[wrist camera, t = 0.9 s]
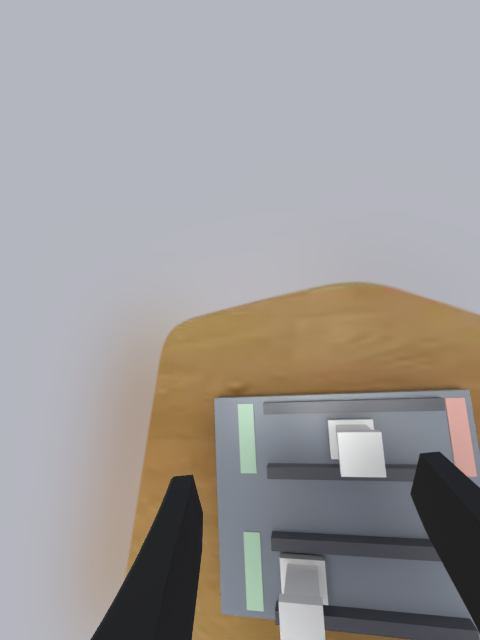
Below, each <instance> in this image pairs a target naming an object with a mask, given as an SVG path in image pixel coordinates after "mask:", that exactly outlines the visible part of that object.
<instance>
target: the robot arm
mask: <svg viewBox="0 0 480 640" xmlns="http://www.w3.org/2000/svg"><path fill="white" fill-rule="evenodd" d="M410 495H411V497H412V500H413V502H414V505H415V507H416V510H417V512H418V515H419V517H420V519H421V522H422V524H423V526H424V529H425V531H426V533H427V535H428V537H429V539H430V541H431V542H432V544H433V546H434V548H435V550H436V552H437V554H438V556H439V558H440V559H441V561H442V563H443V565H444V567H445V569H446V571H447V572H448V574H449V576H450V578H451V580H452V582H453V584H454V586H455V587H456V589H457V591H458V593H459V595H460V597H461V599H462V600H463V602H464V604H465V606H466V608H467V610H468V612H469V613H470V615H471V617H472V619H473V621H474V623H475V625H476V627H477V629H478V631H479V633H480V487H479V486H477V485H476V484H475V483H474V482H473V481H472V480H471V479H470V478H468V477H467V476H466V475H465V474H464V473H463V472H462V471H461V470H460V469H459V468H457V467H456V466H455V465H454V464H453V463H452V462H451V461H450V460H449V459H447V458H446V457H445V456H444V455H443V454H442V453H441V452H429V453H420V455H419V459H418V463H417V467H416V472H415V476H414V480H413V485H412V489H411V493H410ZM202 534H203V511H202V508H201V504H200V500H199V496H198V493H197V489H196V485H195V481H194V478H193V475H186V476H175V477H173V478H172V479H171V481H170V484H169V487H168V489H167V492H166V494H165V497H164V499H163V502H162V504H161V506H160V509H159V511H158V513H157V516H156V518H155V520H154V522H153V525H152V527H151V529H150V531H149V533H148V535H147V537H146V539H145V541H144V543H143V545H142V548H141V550H140V552H139V554H138V556H137V558H136V560H135V562H134V564H133V566H132V567H131V569H130V571H129V573H128V575H127V577H126V579H125V581H124V582H123V584H122V586H121V588H120V590H119V592H118V594H117V596H116V597H115V599H114V601H113V603H112V605H111V606H110V608H109V610H108V611H107V613H106V615H105V617H104V618H103V620H102V622H101V623H100V625H99V627H98V628H97V630H96V632H95V634H94V635H93V637H92V638H91V640H192V631H193V623H194V614H195V606H196V597H197V589H198V581H199V572H200V563H201V554H202Z"/></svg>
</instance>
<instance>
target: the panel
mask: <svg viewBox="0 0 480 640" xmlns="http://www.w3.org/2000/svg"><path fill="white" fill-rule="evenodd" d="M214 408H215V438H216V468H217V498H218V528H219V558H220V588H221V614H224V615H233V616H243V617H252V618H262V619H271V620H275V622H276V625H280V620H279V603H278V601H279V594H282V590H281V574H280V553H286V554H301V555H317V556H324V557H325V570H326V582H327V594H328V605H323V613H324V626H325V630H330V631H339V632H348V633H357V634H367V635H376V636H385V637H394V638H404V639H413V640H480V633H479V631H478V629H477V627H476V625H475V623H474V621H473V619H472V617H471V615H470V613H469V612H468V610H467V608H466V606H465V604H464V602H463V600H462V599H461V597H460V595H459V593H458V591H457V589H456V587H455V586H454V584H453V582H452V580H451V578H450V576H449V574H448V572H447V571H446V569H445V567H444V565H443V563H442V561H441V559H440V558H439V556H438V554H437V552H436V550H435V548H434V546H433V544H432V542H431V541H430V539H429V537H428V535H427V533H426V531H425V529H424V526H423V524H422V522H421V519H420V517H419V515H418V512H417V510H416V507H415V505H414V502H413V500H412V497H411V495H410V493H411V489H412V485H413V480H414V476H415V472H416V467H417V463H418V459H419V455H420V453H429V452H441V453H442V454H443V455H444V456H445V457H446V458H447V459H449V460H450V461H451V462H452V463H453V464H454V465H455V466H456V467H457V468H459V469H460V470H461V471H462V472H463V473H464V474H465V475H466V476H467V477H468V478H470V479H471V480H472V481H473V482H474V483H475V484H476V485H477V486H479V487H480V453H479V447H478V441H477V434H476V428H475V422H474V416H473V410H472V403H471V397H470V391H469V390H466V389H435V390H406V391H376V392H347V393H317V394H288V395H259V396H229V397H217V398H214ZM353 418H372V419H373V425H374V430H379V431H381V433H382V442H383V451H384V460H385V468H386V477H341V474H340V466H339V459H331V455H330V443H329V432H328V421H327V419H353Z"/></svg>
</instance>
